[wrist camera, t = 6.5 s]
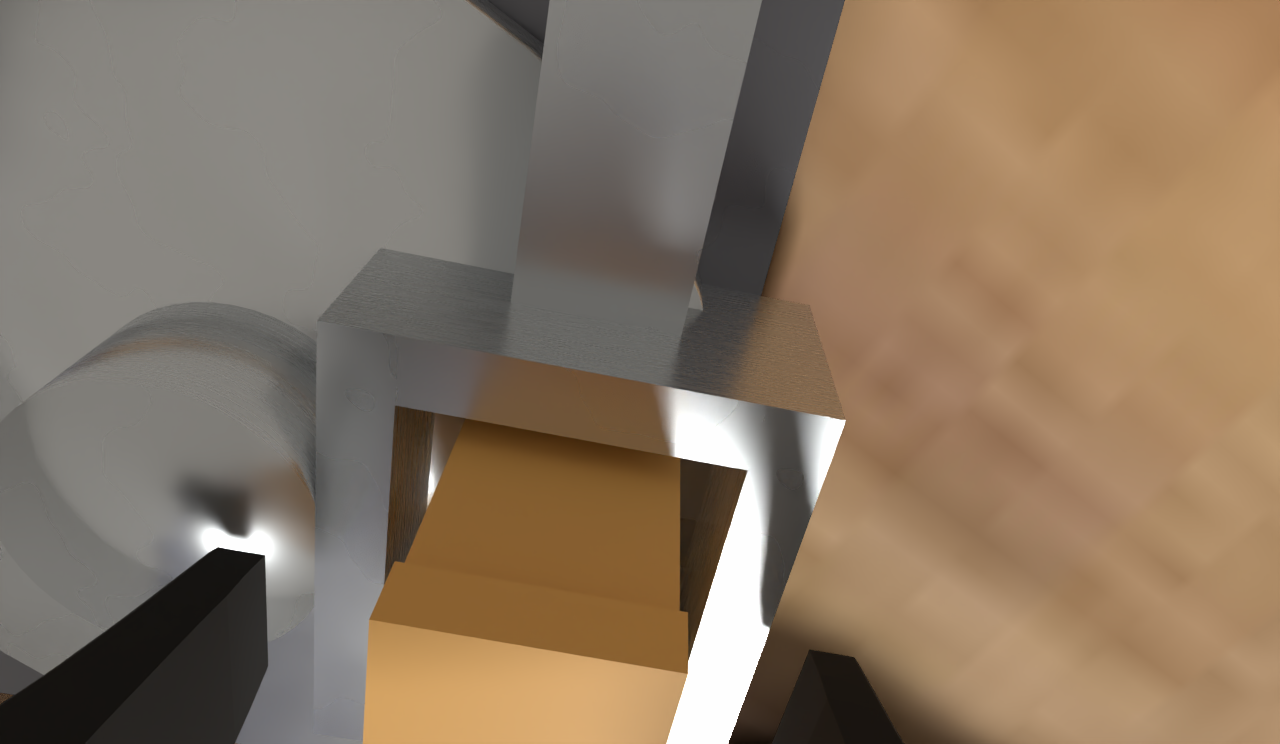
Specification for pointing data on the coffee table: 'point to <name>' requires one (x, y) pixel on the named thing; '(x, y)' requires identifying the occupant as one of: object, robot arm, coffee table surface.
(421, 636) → the tan rectangular box
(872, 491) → the coffee table surface
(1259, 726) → the coffee table surface
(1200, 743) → the coffee table surface
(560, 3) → the disc on square base
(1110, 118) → the coffee table surface
